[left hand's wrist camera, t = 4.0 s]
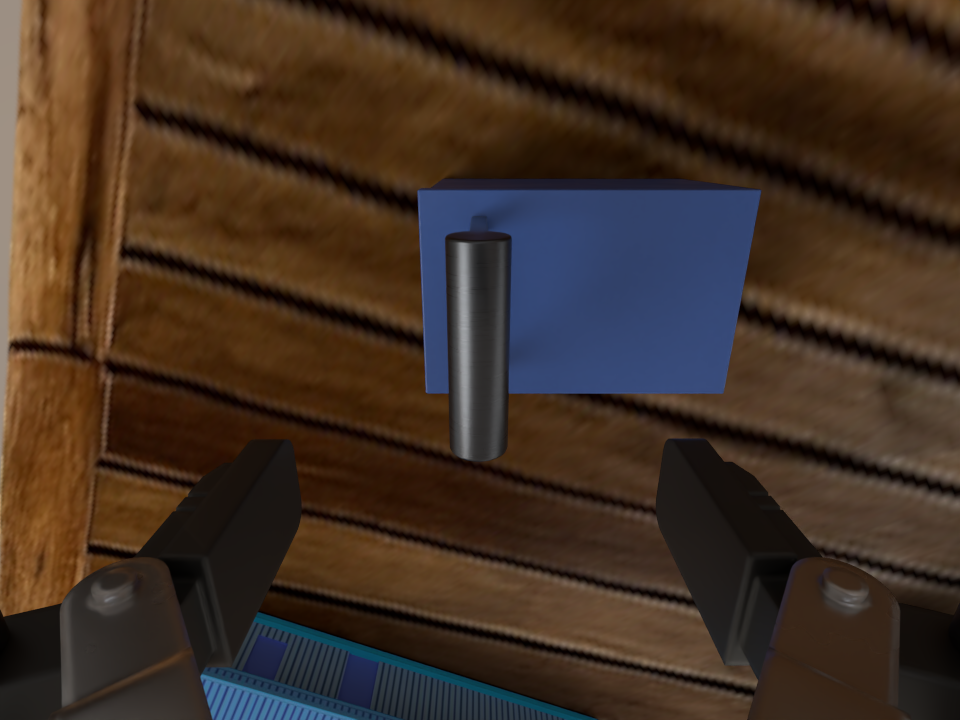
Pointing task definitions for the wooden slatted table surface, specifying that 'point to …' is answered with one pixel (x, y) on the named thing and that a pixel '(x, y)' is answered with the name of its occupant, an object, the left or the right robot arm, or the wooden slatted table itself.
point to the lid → (576, 295)
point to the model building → (350, 683)
